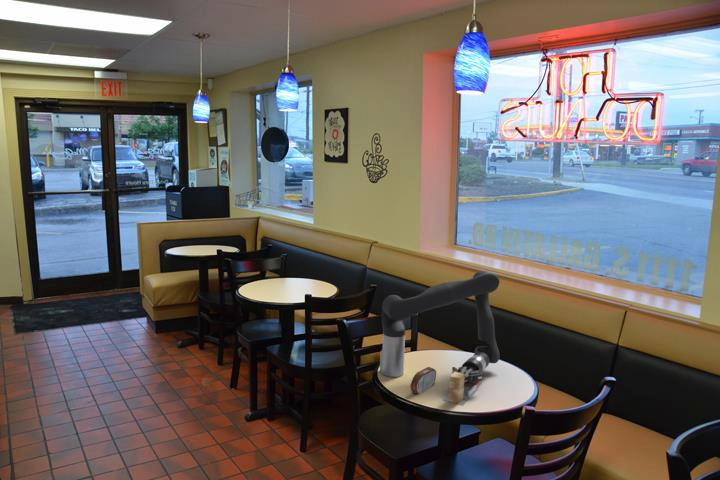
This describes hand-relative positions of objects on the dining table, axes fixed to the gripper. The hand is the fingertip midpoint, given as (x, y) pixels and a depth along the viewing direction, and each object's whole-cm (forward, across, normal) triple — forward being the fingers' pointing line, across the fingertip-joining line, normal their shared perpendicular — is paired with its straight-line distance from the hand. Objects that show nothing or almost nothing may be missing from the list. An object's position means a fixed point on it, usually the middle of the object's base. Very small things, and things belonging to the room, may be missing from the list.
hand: (458, 381), depth 207 cm
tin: (+1, -14, +7) cm, 16 cm away
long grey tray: (-6, 0, +7) cm, 9 cm away
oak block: (+3, 0, +6) cm, 7 cm away
